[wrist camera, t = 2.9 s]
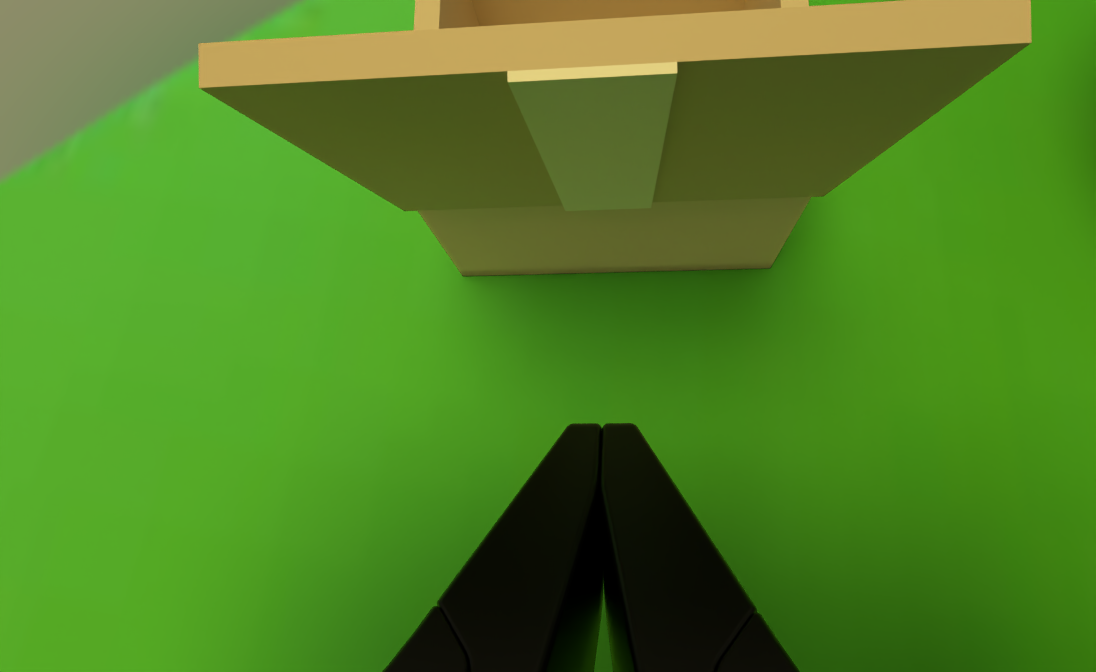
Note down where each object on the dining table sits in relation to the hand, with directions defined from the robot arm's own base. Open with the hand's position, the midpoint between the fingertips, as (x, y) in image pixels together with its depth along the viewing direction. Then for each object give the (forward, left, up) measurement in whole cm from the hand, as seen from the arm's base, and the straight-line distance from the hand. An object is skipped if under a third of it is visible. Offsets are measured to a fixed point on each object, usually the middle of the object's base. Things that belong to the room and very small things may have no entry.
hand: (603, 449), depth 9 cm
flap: (+4, -4, -1) cm, 5 cm away
